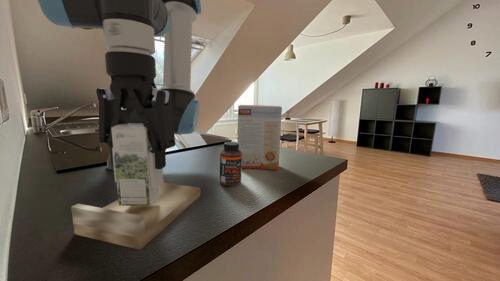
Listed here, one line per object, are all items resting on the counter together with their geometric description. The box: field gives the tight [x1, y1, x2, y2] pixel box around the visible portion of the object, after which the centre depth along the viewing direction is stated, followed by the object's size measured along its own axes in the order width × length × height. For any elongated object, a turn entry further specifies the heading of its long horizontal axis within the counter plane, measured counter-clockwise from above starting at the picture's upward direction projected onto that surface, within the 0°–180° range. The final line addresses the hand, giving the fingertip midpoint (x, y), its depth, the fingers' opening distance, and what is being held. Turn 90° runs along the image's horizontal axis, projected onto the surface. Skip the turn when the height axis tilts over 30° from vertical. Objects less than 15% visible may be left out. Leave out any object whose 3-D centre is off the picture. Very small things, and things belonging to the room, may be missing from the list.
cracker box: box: [237, 104, 283, 171], centre depth 75 cm, size 14×6×21 cm, turn 84°
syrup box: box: [111, 123, 160, 206], centre depth 42 cm, size 6×6×14 cm
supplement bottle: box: [219, 141, 243, 187], centre depth 61 cm, size 6×6×11 cm
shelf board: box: [70, 182, 201, 250], centre depth 45 cm, size 13×20×5 cm, turn 166°
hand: (139, 181), depth 42 cm, fingers closed on syrup box, 7 cm apart
